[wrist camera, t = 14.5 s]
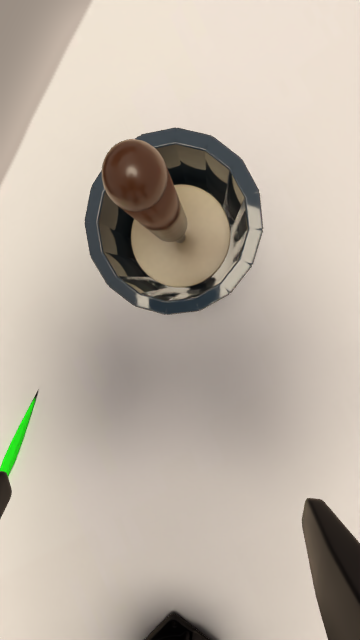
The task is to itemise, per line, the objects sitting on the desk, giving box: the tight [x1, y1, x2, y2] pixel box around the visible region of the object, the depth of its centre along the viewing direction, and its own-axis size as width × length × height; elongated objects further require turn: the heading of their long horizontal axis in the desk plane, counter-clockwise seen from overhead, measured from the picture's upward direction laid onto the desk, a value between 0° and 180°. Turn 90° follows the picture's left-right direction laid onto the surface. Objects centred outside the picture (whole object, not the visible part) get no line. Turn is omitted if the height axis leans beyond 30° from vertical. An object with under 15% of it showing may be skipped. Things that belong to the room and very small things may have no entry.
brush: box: [102, 139, 230, 288], centre depth 12 cm, size 5×5×14 cm
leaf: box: [0, 389, 39, 475], centre depth 23 cm, size 1×14×1 cm, turn 154°
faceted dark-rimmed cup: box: [85, 128, 263, 315], centre depth 16 cm, size 7×7×8 cm
